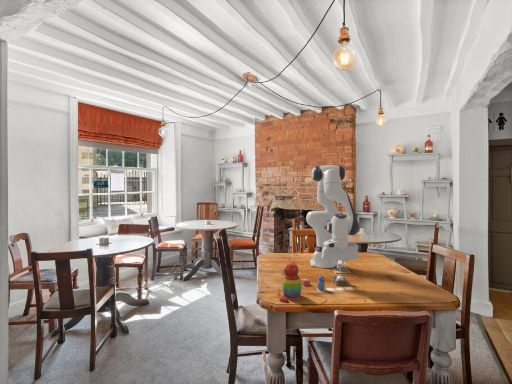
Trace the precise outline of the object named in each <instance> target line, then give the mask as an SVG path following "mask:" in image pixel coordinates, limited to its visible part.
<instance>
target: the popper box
mask: <svg viewBox="0 0 512 384" xmlns="http://www.w3.org/2000/svg"><path fill="white" fill-rule="evenodd" d="M337 277H338V276H331V282H332V283H333V284H334V285H335V286H336V287H337V286H349V281H350V280H349V279H348V278H346V277H345V276H342V277H343V278H344V280H336V278H337Z"/></svg>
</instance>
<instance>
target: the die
mask: <svg viewBox="0 0 512 384" xmlns="http://www.w3.org/2000/svg"><path fill="white" fill-rule="evenodd" d="M300 280H301V285H302V287H307V286H310V285H311V280H310V279H309V278H307V277H306V278H305V277H304V278H300Z"/></svg>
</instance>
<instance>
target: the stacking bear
mask: <svg viewBox="0 0 512 384" xmlns="http://www.w3.org/2000/svg"><path fill="white" fill-rule="evenodd" d="M299 271H300V270H299V265H297V264H295V262H292V263H291V262H290V263H287V264H286V266H285V267H284V268H283V272H284V274H285V275H284V277H283V282H282V292H283V294H282V295H280V297H279V301H280V302H282V303H290V301H293V300H299V299H301V297H302V296H301V292H302V287H303V285H301V280H300V279H301V278H300V276H299V275H298V273H299Z"/></svg>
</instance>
